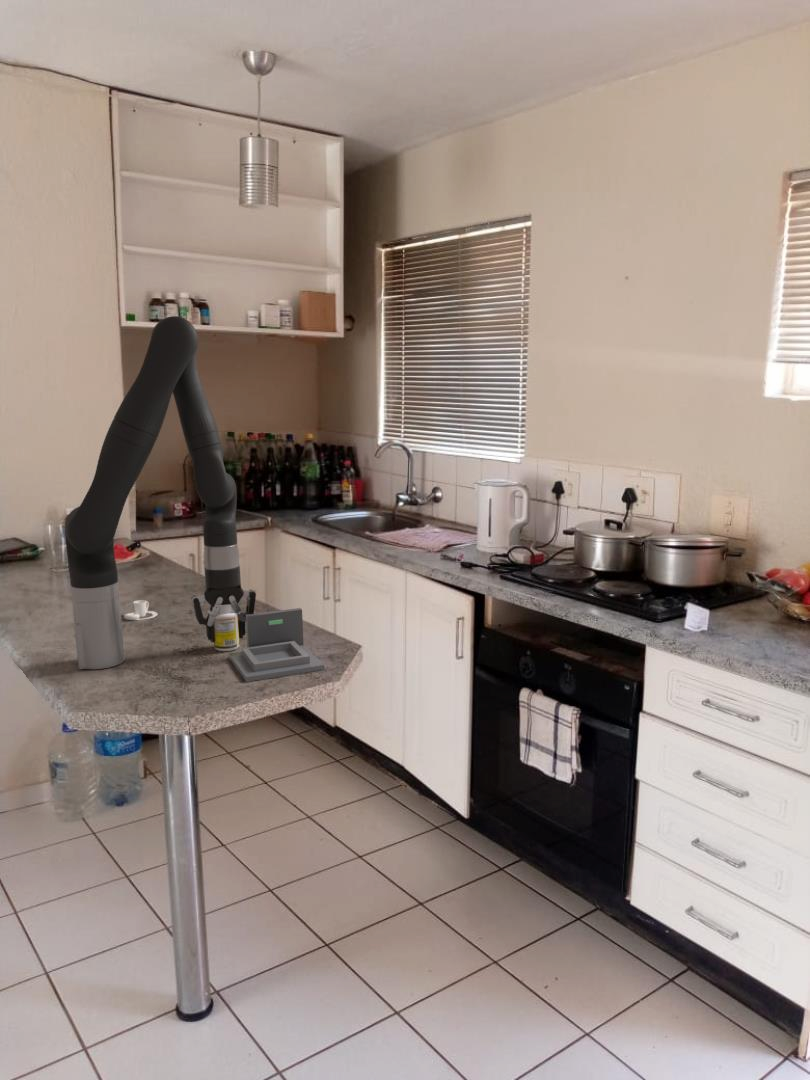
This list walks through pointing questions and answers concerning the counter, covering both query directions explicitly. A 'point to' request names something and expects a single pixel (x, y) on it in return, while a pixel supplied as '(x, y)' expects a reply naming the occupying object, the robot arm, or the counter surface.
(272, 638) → the charging dock
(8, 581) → the counter surface
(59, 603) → the counter surface
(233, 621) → the supplement bottle
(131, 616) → the teacup and saucer
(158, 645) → the counter surface
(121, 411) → the robot arm
